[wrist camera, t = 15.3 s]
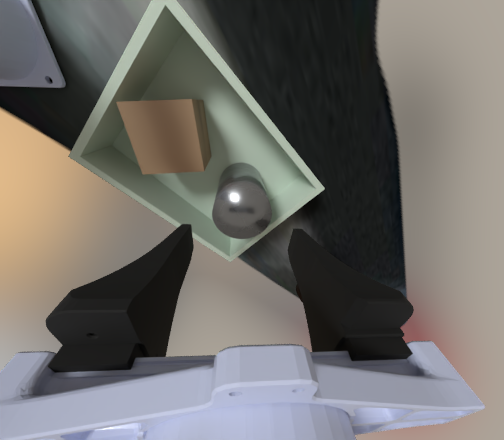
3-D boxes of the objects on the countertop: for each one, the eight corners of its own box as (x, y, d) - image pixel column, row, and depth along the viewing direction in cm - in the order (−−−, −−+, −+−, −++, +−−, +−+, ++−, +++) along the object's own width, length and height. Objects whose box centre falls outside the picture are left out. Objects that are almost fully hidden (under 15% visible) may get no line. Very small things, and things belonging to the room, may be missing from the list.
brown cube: (163, 158, 19) (142, 174, 15) (147, 101, 16) (115, 101, 12) (211, 156, 19) (204, 171, 15) (203, 99, 17) (191, 98, 12)
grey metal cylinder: (210, 185, 21) (199, 218, 15) (238, 152, 19) (239, 174, 13) (242, 210, 23) (244, 247, 17) (271, 182, 21) (284, 213, 15)
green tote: (106, 144, 19) (68, 156, 14) (184, 17, 14) (161, -19, 10) (231, 236, 26) (230, 262, 22) (307, 171, 22) (324, 188, 17)
